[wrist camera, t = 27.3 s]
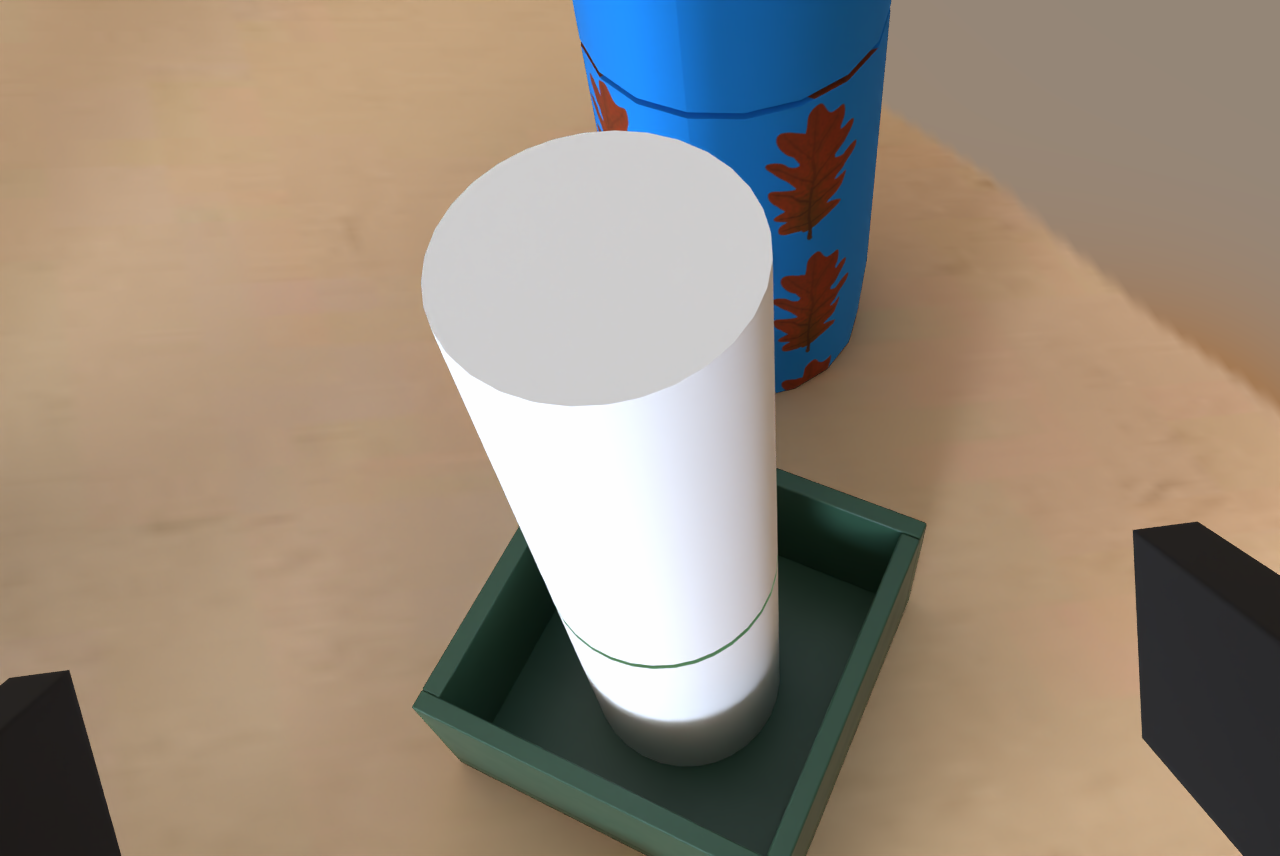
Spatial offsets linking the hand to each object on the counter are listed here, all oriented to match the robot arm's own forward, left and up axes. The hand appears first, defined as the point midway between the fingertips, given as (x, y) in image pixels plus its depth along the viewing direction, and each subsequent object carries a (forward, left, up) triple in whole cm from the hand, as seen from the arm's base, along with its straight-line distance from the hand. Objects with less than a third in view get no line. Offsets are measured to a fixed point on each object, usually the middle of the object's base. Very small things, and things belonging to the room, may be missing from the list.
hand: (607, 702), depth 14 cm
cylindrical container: (+9, +5, -29) cm, 31 cm away
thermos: (+27, +11, -30) cm, 42 cm away
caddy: (+9, +6, -30) cm, 32 cm away
